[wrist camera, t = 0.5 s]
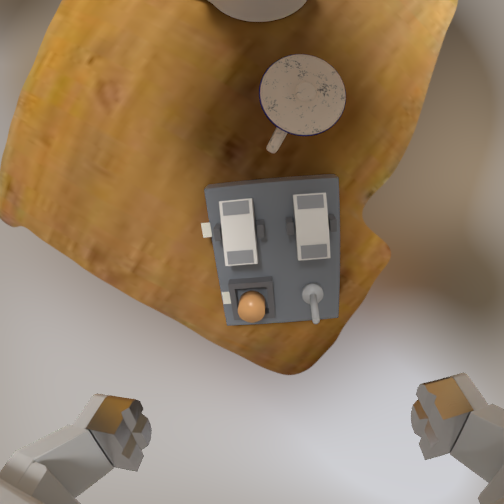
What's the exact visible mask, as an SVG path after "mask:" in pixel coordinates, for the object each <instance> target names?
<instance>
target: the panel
mask: <svg viewBox="0 0 504 504" xmlns="http://www.w3.org/2000/svg"><path fill="white" fill-rule="evenodd" d="M204 191H205V198H206V204H207V211H208V217H209V223H201V226H202V232H203V238H206V237H212V242H213V248H214V254H215V260H216V266H217V272H218V278H219V283H220V289H221V295H222V300H223V306H224V311H225V317H226V322H227V325H248V324H266V323H281V322H294V321H307V320H312V322H313V323H314V324H318V323H319V322H320V319H329V318H338V314H339V287H340V203H339V178H338V177H337V176H336V175H335V174H322V175H305V176H291V177H278V178H267V179H256V180H245V181H236V182H226V183H217V184H209V185H208V186H207V187H206V188H205V189H204ZM311 193H326V198H327V210H328V224H329V239H330V257H331V258H326V259H313V260H301V261H298V258H297V244H296V230H295V218H294V206H293V195H296V194H311ZM249 198H253V208H254V219H255V230H256V241H257V252H258V264H248V265H235V266H225V258H224V248H223V238H222V228H221V218H220V207H219V201H228V200H238V199H249ZM247 291H257V292H259V293H261V294H262V295H263V296H264V298H265V315H264V317H263V318H262V319H261V320H260V321H258V322H254V323H250V322H246V321H244V320H242V319H241V318H240V317H239V315H238V306H239V300H240V297H241V295H242V294H243V293H245V292H247Z"/></svg>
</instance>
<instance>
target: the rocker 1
mask: <svg viewBox="0 0 504 504" xmlns="http://www.w3.org/2000/svg"><path fill="white" fill-rule="evenodd" d="M219 207H220V218H221V228H222V238H223V248H224V258H225V266H235V265H248V264H258V252H257V241H256V230H255V219H254V208H253V198H249V199H238V200H228V201H219Z"/></svg>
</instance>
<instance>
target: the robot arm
mask: <svg viewBox="0 0 504 504" xmlns="http://www.w3.org/2000/svg"><path fill="white" fill-rule="evenodd" d="M208 1H209V2H211V3H212V4H213V5H214V6H215V7H216V8H218V9H219V10H220V11H222V12H223V13H225V14H227V15H229V16H231V17H233V18H236V19H240V20H244V21H250V22H267V21H273V20H278V19H281V18H284V17H286V16H289V15H291V14H292V13H294V12H296V11H297V10H298V9H300V8H301V7H302V6H303V5H304V4H305V3H306V1H307V0H208ZM416 395H417V397H418V400H417V401H416V402H415V403H414V404H413V407H412V411H411V423H412V427H413V430H414V433H415V434H417V435H418V436H420V437H421V440H420V443H419V445H420V448H421V450H422V453H423V456H424V458H425V460H427V459H431V458H434V457H438V456H441V455H445V454H448V453H450V455H452V456H453V457H454V458H456V459H457V460H458V461H460V462H461V463H463V464H464V465H465V466H466V467H468V468H469V469H471V470H472V471H473V472H475V473H476V474H477V475H479V476H480V477H482V478H483V479H484V480H486V481H487V482H488V483H489V484H488V485H487V486H486V488H485V489H484V490H483V491H482V492H481V494H480V495H479V497H478V499H479V502H480V504H504V409H502V408H500V407H498V406H496V405H494V404H491V405H488V403H487V402H486V401H485V399H484V398H483V396H482V395H481V393H480V392H479V391H478V389H477V388H476V386H475V385H474V384H473V382H472V381H471V379H470V378H469V376H468V375H467V374H465V373H461V374H457V375H453V376H450V377H446V378H443V379H439V380H435V381H431V382H427V383H423V384H420V385H419V387H418V389H417V393H416ZM142 410H143V407H142V405H141V403H140V401H138V400H136V399H129V398H122V397H116V396H108V395H103V394H95V395H93V396H92V397H91V399H90V400H89V401H88V403H87V405H86V406H85V407H84V409H83V410H82V411H81V413H80V414H79V416H78V417H77V419H76V420H75V422H74V423H73V425H72V426H71V425H67V426H65V427H63V428H61V429H59V430H57V431H55V432H53V433H51V434H49V435H47V436H45V437H43V438H41V439H39V440H37V441H35V442H33V443H31V444H29V445H27V446H25V447H22V448H20V449H18V450H16V451H15V452H14V453H13V455H12V456H11V458H10V459H9V460H8V462H7V463H6V464H5V466H4V467H3V469H2V470H1V472H0V504H80V503H79V502H78V501H77V500H76V499H75V497H77V496H78V495H80V494H81V493H82V492H84V491H85V490H86V489H88V488H89V487H90V486H92V485H93V484H94V483H96V482H97V481H98V480H99V479H101V478H102V477H103V476H105V475H106V474H107V473H108V472H110V471H111V470H112V469H113V467H116V468H122V469H126V470H132V471H138V468H139V466H140V464H141V461H142V459H143V457H144V455H143V453H142V449H144V448H145V447H147V446H148V445H149V442H150V439H151V425H150V422H149V420H148V418H147V417H145V416H144V415H143V414H142Z"/></svg>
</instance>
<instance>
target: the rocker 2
mask: <svg viewBox="0 0 504 504" xmlns="http://www.w3.org/2000/svg"><path fill="white" fill-rule="evenodd" d="M293 206H294V218H295V230H296V244H297V258H298V261H301V260H313V259H326V258H331V257H330V239H329V224H328V210H327V198H326V193H311V194H296V195H293Z"/></svg>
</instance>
